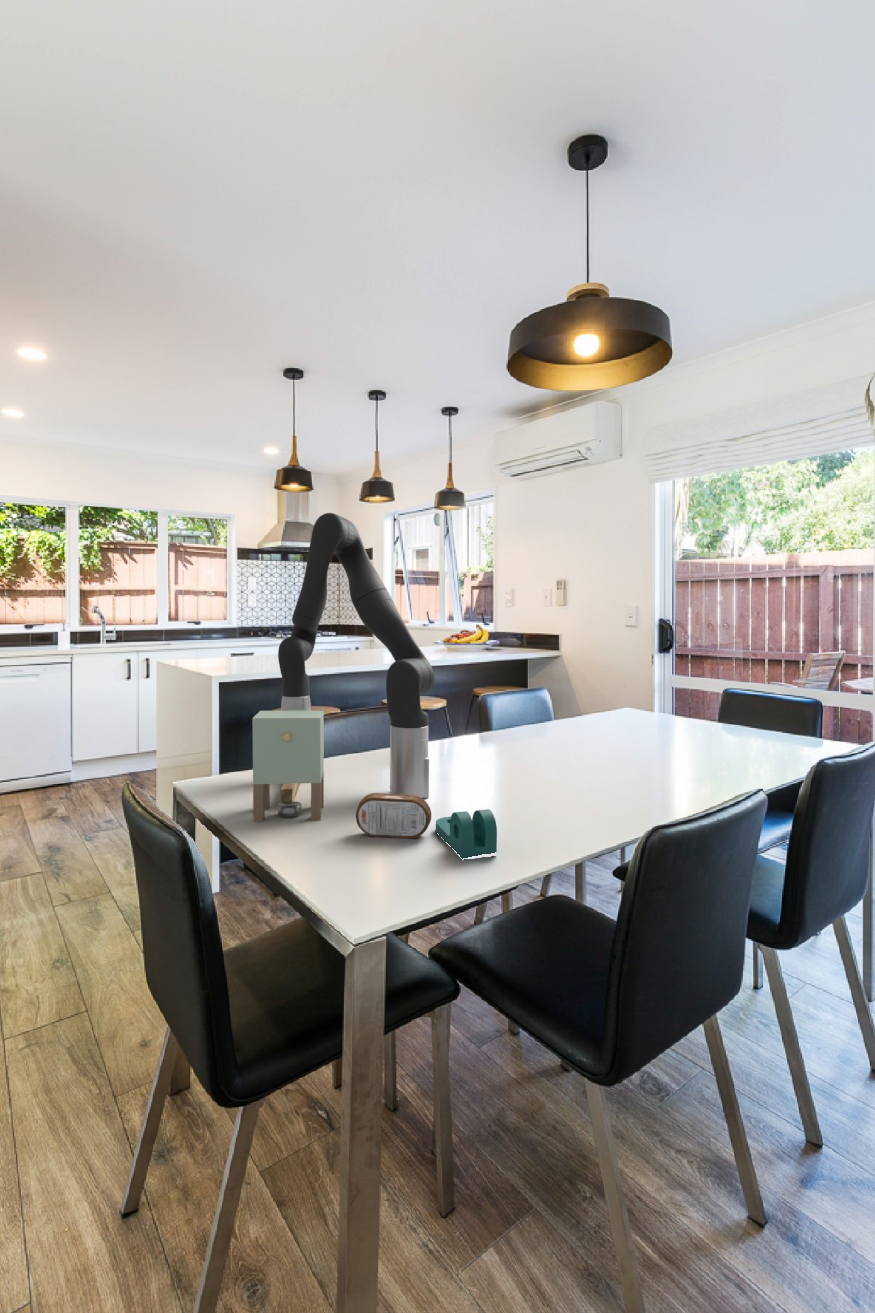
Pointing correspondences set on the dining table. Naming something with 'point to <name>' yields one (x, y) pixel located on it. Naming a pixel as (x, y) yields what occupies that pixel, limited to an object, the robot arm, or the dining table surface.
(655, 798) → the dining table surface
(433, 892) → the dining table surface
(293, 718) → the cabinet
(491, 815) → the bracket
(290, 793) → the oak slat
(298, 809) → the steel token
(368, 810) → the tin
